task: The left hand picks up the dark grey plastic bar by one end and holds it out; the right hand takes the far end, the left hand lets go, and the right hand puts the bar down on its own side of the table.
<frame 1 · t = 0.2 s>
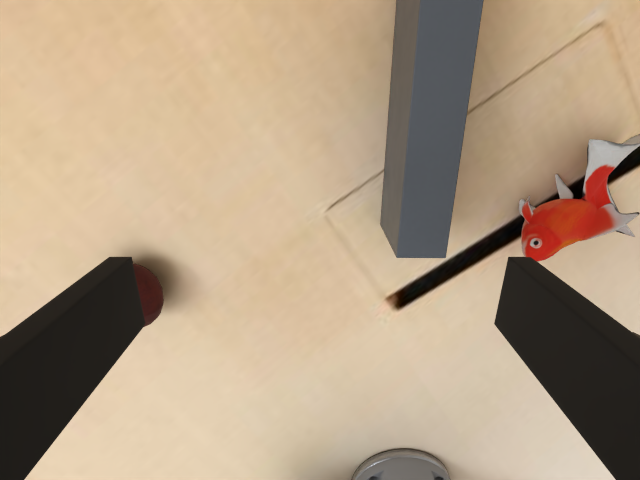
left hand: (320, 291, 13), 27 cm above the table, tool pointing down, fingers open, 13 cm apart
dark maroon ball: (143, 282, 43), on the table
bar: (409, 117, 36), on the table
fish: (556, 186, 39), on the table
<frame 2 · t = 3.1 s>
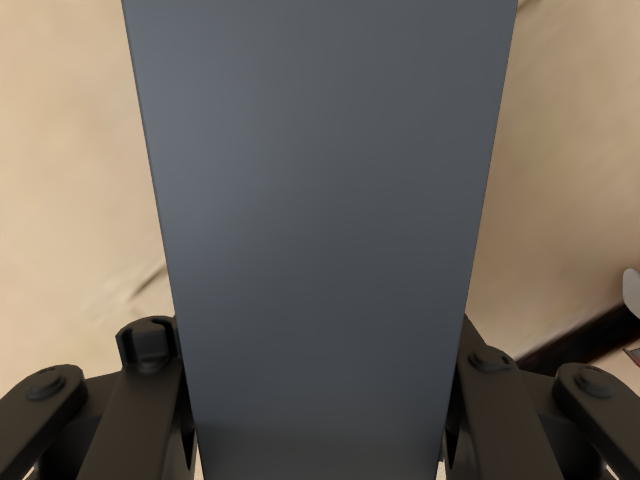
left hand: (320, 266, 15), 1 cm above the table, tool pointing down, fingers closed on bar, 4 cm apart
bar: (319, 44, 12), on the table, touching left hand
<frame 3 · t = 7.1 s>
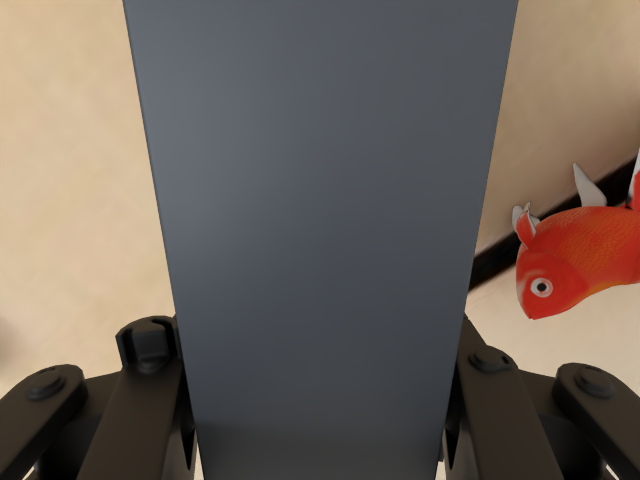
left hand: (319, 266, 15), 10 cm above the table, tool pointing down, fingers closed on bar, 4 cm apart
bar: (320, 43, 12), point 9 cm above the table, touching left hand, right hand
fish: (575, 184, 23), on the table
when the left hand's fingers open (10 cm above the table, at t = 8.1 s): bar stays where it is, held by the right hand.
when the right hand's fingers open (4 cm above the table, at t = 14.7 s): bar stays where it is, on the table.
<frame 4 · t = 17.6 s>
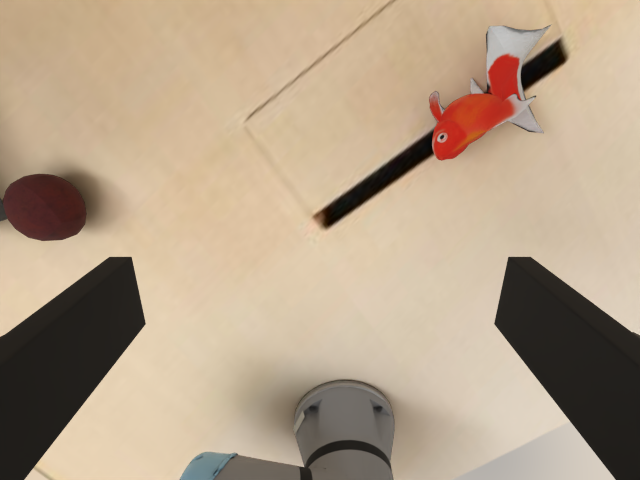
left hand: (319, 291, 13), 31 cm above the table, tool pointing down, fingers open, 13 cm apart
dark maroon ball: (69, 200, 43), on the table
fish: (473, 92, 39), on the table
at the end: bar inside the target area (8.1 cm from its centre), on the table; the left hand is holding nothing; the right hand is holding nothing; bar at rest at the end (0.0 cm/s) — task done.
